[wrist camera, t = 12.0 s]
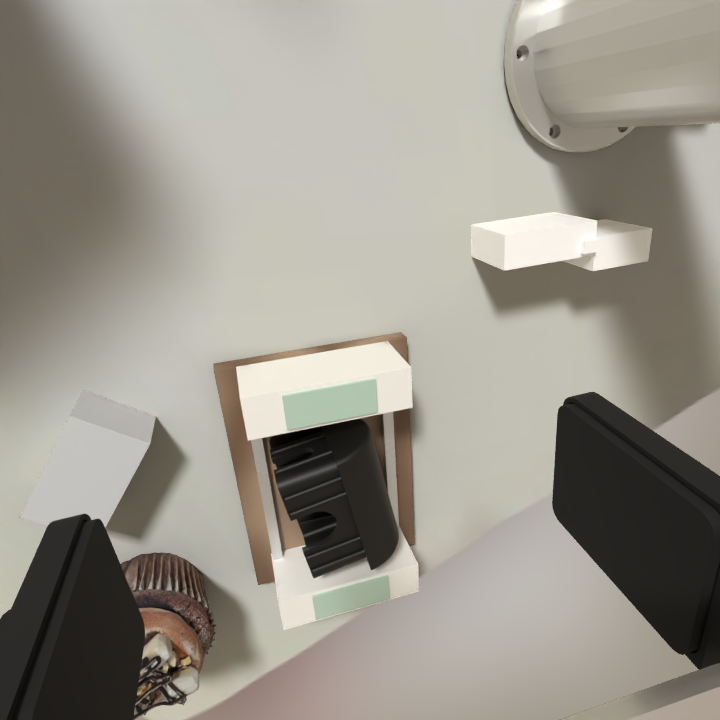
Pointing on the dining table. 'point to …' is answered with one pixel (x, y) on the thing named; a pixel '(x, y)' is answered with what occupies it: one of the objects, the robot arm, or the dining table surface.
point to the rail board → (248, 473)
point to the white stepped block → (559, 242)
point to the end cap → (336, 494)
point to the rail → (265, 487)
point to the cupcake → (169, 627)
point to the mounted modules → (318, 408)
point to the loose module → (91, 461)
